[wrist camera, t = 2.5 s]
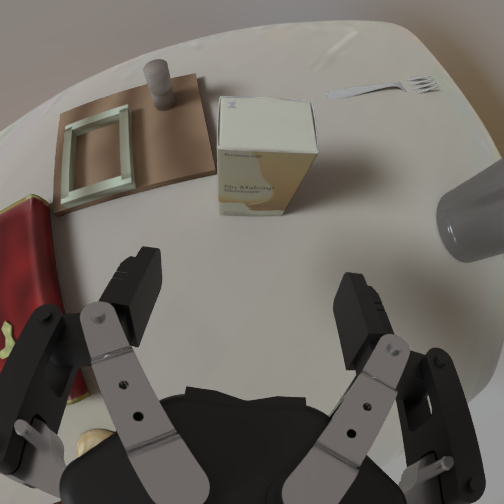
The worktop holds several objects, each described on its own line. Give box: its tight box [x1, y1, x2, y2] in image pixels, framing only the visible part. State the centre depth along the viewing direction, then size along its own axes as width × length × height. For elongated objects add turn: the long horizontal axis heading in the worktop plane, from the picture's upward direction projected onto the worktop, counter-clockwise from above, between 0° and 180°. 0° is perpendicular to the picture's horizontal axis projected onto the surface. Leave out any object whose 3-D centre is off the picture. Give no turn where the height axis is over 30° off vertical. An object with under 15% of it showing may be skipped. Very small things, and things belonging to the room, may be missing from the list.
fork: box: [325, 75, 438, 99], centre depth 32 cm, size 3×24×2 cm, turn 112°
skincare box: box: [217, 96, 319, 216], centre depth 22 cm, size 6×4×12 cm
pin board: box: [53, 59, 216, 216], centre depth 25 cm, size 18×14×7 cm
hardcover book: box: [0, 194, 89, 405], centre depth 23 cm, size 12×21×4 cm, turn 18°
